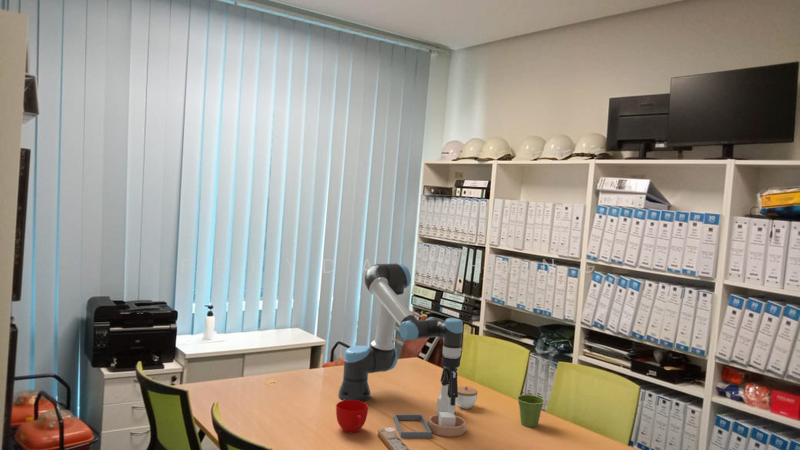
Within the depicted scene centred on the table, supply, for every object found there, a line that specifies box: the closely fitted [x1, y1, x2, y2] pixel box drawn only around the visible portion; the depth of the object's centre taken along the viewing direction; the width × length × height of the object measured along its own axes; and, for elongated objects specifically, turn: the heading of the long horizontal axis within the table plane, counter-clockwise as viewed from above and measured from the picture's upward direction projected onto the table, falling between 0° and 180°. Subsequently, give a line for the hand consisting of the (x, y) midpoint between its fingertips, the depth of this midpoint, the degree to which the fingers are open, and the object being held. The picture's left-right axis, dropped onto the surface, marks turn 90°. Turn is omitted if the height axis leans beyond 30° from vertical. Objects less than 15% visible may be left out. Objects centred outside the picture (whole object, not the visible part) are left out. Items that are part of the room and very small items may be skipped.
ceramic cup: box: [335, 400, 369, 433], centre depth 235 cm, size 13×17×10 cm
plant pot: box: [516, 394, 546, 428], centre depth 255 cm, size 12×12×11 cm
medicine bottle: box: [436, 385, 457, 414], centre depth 264 cm, size 7×7×12 cm
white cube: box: [438, 412, 456, 427], centre depth 243 cm, size 6×6×6 cm
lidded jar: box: [456, 386, 478, 410], centre depth 273 cm, size 11×11×9 cm
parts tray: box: [393, 413, 433, 439], centre depth 243 cm, size 13×20×2 cm, turn 9°
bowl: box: [427, 413, 467, 438], centre depth 243 cm, size 15×15×4 cm
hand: (447, 406), depth 243 cm, fingers open, 13 cm apart
